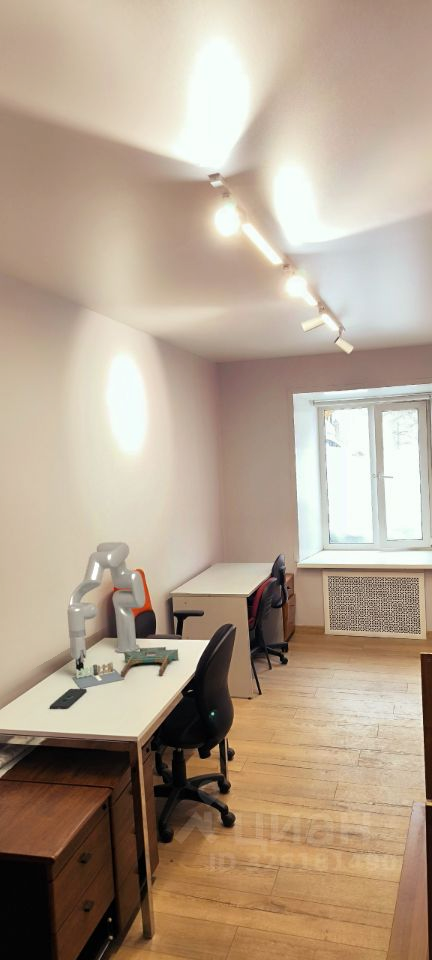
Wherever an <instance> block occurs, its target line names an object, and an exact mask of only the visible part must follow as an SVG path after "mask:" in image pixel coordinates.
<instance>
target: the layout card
mask: <svg viewBox="0 0 432 960" xmlns="http://www.w3.org/2000/svg"><path fill="white" fill-rule="evenodd" d="M72 680H73V681H74V683H75V684H76V685H77V687H78V689H88V688H91V687H95V686H96V687H97V686H100V685H107V684H110V683H114V682H119V681H123V680H124V681H125V677H121V673H120V672H118V670H117V669H115V668H113V672H110V673H109V672H106V673H105V674H103V673H101V674H100V675H96V676H94V672H93V675H92V676H91V675H89V676H87V677H86V676H84V677H79V678H76V676H73V677H72Z"/></svg>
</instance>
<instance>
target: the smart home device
mask: <svg viewBox="0 0 432 960" xmlns="http://www.w3.org/2000/svg"><path fill="white" fill-rule="evenodd" d="M87 689H88V688H82V689H80V688H70V689H68V690H67V691H65V692H64V693H62V695H61V696H59V697H58V698H57V699H56V700H54V701H53V702H52V703H51V704H50V705H49V709H50V710H68V709H70V708H71V707H72V706H73V705H74V704H75V703H76V702H78V701H79V700H80V698H82V697H83V696H84V695H85V694H86V693H87V692H88V691H87Z"/></svg>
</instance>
